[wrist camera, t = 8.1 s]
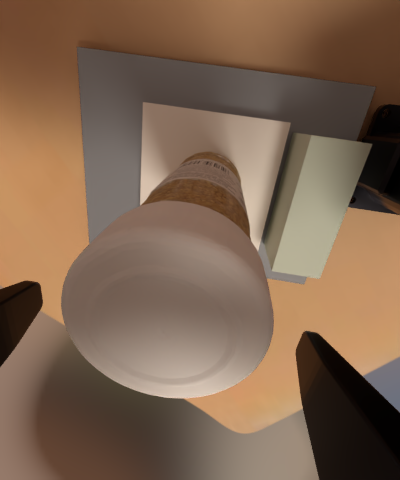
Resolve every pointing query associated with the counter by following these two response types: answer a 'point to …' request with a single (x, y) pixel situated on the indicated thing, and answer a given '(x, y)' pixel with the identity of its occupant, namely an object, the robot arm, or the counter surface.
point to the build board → (226, 146)
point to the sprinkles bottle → (174, 288)
